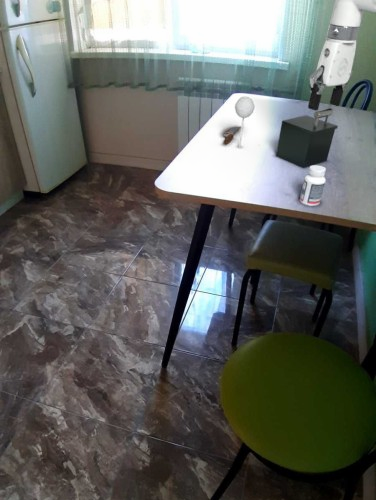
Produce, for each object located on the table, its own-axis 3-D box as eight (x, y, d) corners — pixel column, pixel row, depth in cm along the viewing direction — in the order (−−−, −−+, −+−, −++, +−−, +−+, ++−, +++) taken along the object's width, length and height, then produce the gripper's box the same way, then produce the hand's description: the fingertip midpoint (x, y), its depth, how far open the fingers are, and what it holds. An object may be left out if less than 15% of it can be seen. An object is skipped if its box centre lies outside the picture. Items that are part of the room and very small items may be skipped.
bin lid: (337, 128, 123) (342, 108, 119) (312, 134, 118) (317, 114, 114) (305, 117, 130) (309, 98, 126) (281, 123, 125) (285, 103, 121)
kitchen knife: (228, 124, 152) (242, 124, 151) (228, 129, 153) (242, 129, 152) (213, 139, 137) (228, 139, 135) (213, 144, 138) (228, 145, 136)
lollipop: (233, 151, 134) (239, 99, 123) (228, 144, 138) (233, 94, 127) (251, 150, 135) (258, 99, 124) (245, 144, 139) (252, 94, 129)
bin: (326, 161, 130) (335, 128, 123) (303, 168, 125) (311, 134, 118) (298, 150, 137) (305, 118, 130) (275, 156, 131) (281, 123, 125)
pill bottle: (323, 202, 108) (332, 168, 102) (313, 208, 106) (322, 174, 100) (306, 195, 111) (314, 162, 105) (295, 201, 108) (303, 167, 102)
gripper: (333, 38, 100) (314, 114, 112) (374, 34, 108) (352, 106, 120) (309, 33, 104) (293, 107, 116) (350, 30, 112) (332, 100, 124)
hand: (323, 107), depth 118 cm, fingers open, 9 cm apart
